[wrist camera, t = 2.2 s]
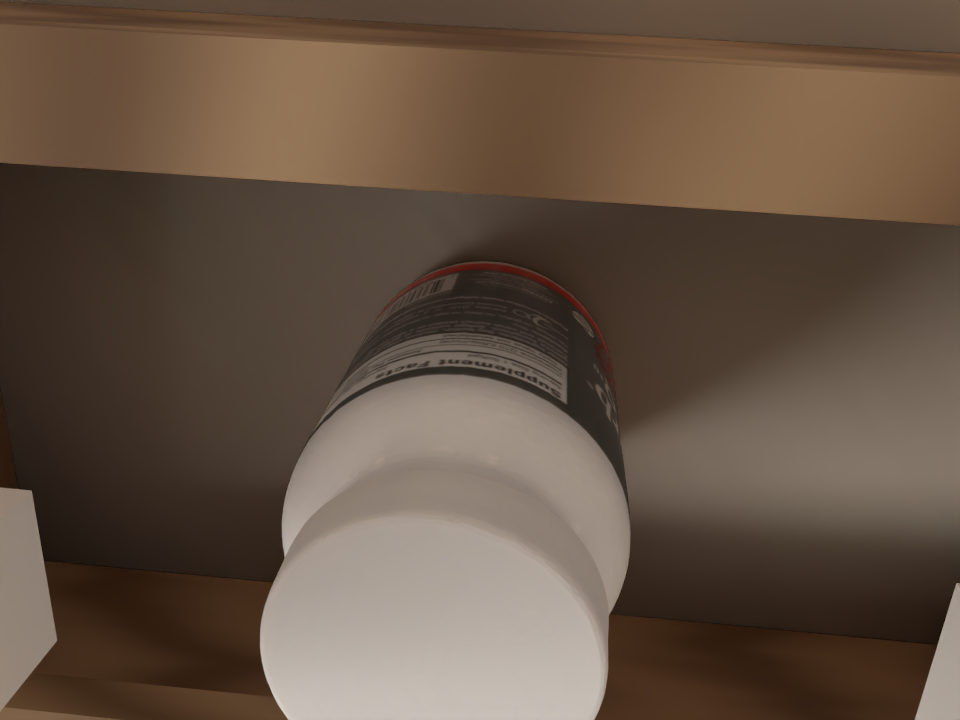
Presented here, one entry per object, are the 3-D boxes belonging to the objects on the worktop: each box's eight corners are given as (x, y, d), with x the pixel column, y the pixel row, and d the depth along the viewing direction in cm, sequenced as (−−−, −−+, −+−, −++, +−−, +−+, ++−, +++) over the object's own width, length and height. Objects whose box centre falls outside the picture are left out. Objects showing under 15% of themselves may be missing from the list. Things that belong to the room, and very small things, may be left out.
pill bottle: (591, 494, 22) (609, 858, 13) (361, 463, 22) (219, 799, 13) (630, 269, 20) (685, 517, 11) (374, 237, 20) (213, 453, 11)
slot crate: (0, 586, 25) (-162, 760, 19) (-115, -5, 19) (-396, 2, 13) (980, 681, 23) (1111, 900, 18) (1187, 65, 17) (1479, 105, 12)
